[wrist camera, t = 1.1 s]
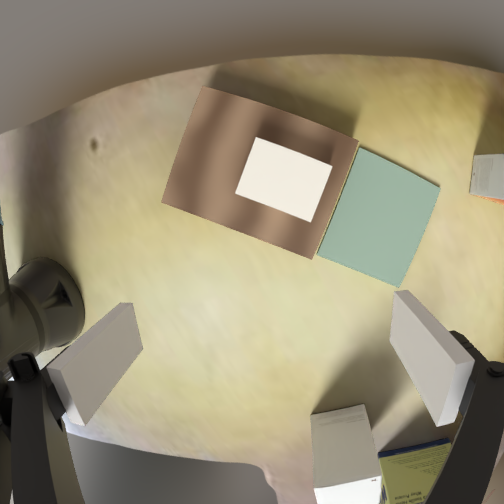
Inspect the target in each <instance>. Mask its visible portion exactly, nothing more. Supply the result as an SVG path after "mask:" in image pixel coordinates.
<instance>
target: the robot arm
mask: <svg viewBox="0 0 504 504" xmlns="http://www.w3.org/2000/svg"><path fill="white" fill-rule="evenodd" d="M84 319H85V314H84V306H83V301H82V298H81V295H80V292H79V290H78V288H77V286H76V284H75V282H74V281H73V279H72V278H71V276H70V275H69V274H68V272H67V271H66V270H65V269H64V268H63V267H62V266H61V265H59V264H58V263H57V262H55V261H53V260H51V259H48V258H43V257H41V258H36V259H33V260H31V261H28V262H26V263H25V264H23V265H22V266H21V267H20V268H19V270H18V271H17V273H16V274H14V275H13V276H12V277H11V278H10V279H8V273H7V266H6V259H5V250H4V239H3V221H2V216H1V207H0V504H10V499H11V493H12V490H13V500H14V504H85V502H84V499H83V496H82V493H81V490H80V486H79V483H78V479H77V476H76V472H75V468H74V464H73V460H72V456H71V452H70V448H69V443H68V439H67V433H66V428H65V423H64V421H63V419H62V415H63V414H64V413H65V412H66V413H67V415H68V417H69V419H70V421H71V423H75V424H79V425H82V426H86V424H87V423H88V422H89V420H90V419H91V418H92V416H93V415H94V414H95V412H96V411H97V409H98V408H99V407H100V405H101V404H102V403H103V401H104V400H105V399H106V397H107V396H108V395H109V393H110V392H111V391H112V389H113V388H114V387H115V385H116V384H117V383H118V381H119V380H120V379H121V377H122V376H123V375H124V373H125V372H126V371H127V369H128V368H129V367H130V365H131V364H132V363H133V361H134V360H135V359H136V358H137V356H138V355H139V354H140V352H141V351H142V350H143V346H142V342H141V338H140V334H139V329H138V325H137V321H136V316H135V312H134V307H133V303H119V304H118V305H117V306H116V307H115V308H113V309H112V310H111V311H110V312H109V313H108V314H106V315H105V316H104V317H103V318H102V319H100V320H99V321H98V322H97V323H96V324H95V325H93V326H92V327H91V328H90V329H89V330H88V331H87V332H85V333H84V334H83V335H82V336H81V337H80V338H78V339H77V340H76V341H75V342H74V343H73V344H72V345H70V346H68V347H66V348H65V349H64V350H63V351H62V352H60V354H58V355H57V356H56V357H55V359H53V360H51V361H50V362H49V363H48V364H47V365H46V366H45V367H44V368H43V369H41V370H40V369H39V367H38V364H37V361H36V359H35V357H36V356H37V355H38V354H40V353H41V352H43V351H46V350H50V349H52V348H55V347H62V346H66V345H68V344H69V343H71V342H72V341H73V340H74V339H75V338H77V337H78V336H79V334H80V333H81V331H82V329H83V326H84ZM389 341H390V343H391V345H392V346H393V348H394V350H395V352H396V353H397V355H398V357H399V358H400V360H401V362H402V364H403V365H404V367H405V369H406V371H407V373H408V374H409V376H410V378H411V380H412V381H413V383H414V385H415V387H416V389H417V391H418V392H419V394H420V396H421V398H422V400H423V402H424V404H425V405H426V407H427V409H428V411H429V413H430V415H431V417H432V419H433V421H434V423H435V425H436V426H437V427H438V426H442V425H446V424H449V423H453V422H454V421H455V419H456V416H457V414H458V411H460V412H461V414H462V415H463V419H462V421H461V424H460V426H459V428H458V431H457V433H456V435H455V439H454V441H453V443H452V446H451V448H450V450H449V452H448V455H447V457H446V459H445V461H444V463H443V465H442V467H441V470H440V472H439V474H438V476H437V478H436V479H435V481H434V483H433V485H432V487H431V489H430V491H429V493H428V494H427V496H426V498H425V500H424V502H423V503H422V504H481V503H482V501H483V498H484V495H485V493H486V489H487V487H488V484H489V481H490V478H491V475H492V471H493V468H494V465H495V461H496V458H497V454H498V450H499V446H500V442H501V438H502V434H503V429H504V363H501V362H497V361H490V362H489V361H488V360H487V359H486V358H485V357H484V356H483V355H482V354H481V353H480V352H479V351H478V350H477V349H476V348H474V346H473V345H472V344H471V343H469V340H468V339H467V338H466V337H465V336H464V335H462V334H460V333H458V332H456V331H448V330H447V329H446V328H445V327H444V326H443V325H442V324H441V323H440V322H439V321H438V320H437V319H436V318H435V317H434V316H433V315H432V314H431V313H430V312H429V311H428V310H427V309H426V308H425V307H424V306H423V305H422V303H421V302H420V301H419V300H418V299H417V298H416V297H415V296H413V295H412V294H411V293H410V292H409V291H408V290H403V291H394V298H393V311H392V321H391V331H390V339H389ZM12 376H13V378H14V380H15V381H8V380H9V379H10V378H11V377H12Z"/></svg>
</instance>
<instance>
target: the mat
mask: <svg viewBox="0 0 504 504" xmlns="http://www.w3.org/2000/svg"><path fill="white" fill-rule="evenodd" d="M439 192H440V188H439V187H437V186H435V185H433V184H432V183H430V182H428V181H426V180H424V179H422V178H421V177H419V176H417V175H415V174H413V173H411V172H409V171H407V170H405V169H403V168H402V167H400V166H398V165H396V164H394V163H392V162H390V161H388V160H385V159H383V158H381V157H379V156H377V155H375V154H373V153H371V152H369V151H366V150H364V149H362V148H360V147H359V149H358V151H357V154H356V157H355V159H354V162H353V165H352V167H351V170H350V173H349V175H348V178H347V181H346V183H345V186H344V188H343V191H342V193H341V196H340V199H339V201H338V204H337V206H336V209H335V211H334V214H333V216H332V219H331V221H330V223H329V226H328V228H327V231H326V233H325V236H324V238H323V240H322V243H321V245H320V248H319V250H318V252H317V255H318V256H321V257H324V258H326V259H329V260H331V261H334V262H336V263H339V264H341V265H344V266H346V267H349V268H351V269H354V270H356V271H359V272H361V273H364V274H366V275H369V276H371V277H374V278H376V279H378V280H381V281H383V282H386V283H388V284H391V285H393V286H396V287H398V288H399V287H400V285H401V283H402V281H403V279H404V277H405V275H406V272H407V270H408V268H409V266H410V264H411V262H412V259H413V257H414V255H415V253H416V250H417V248H418V246H419V243H420V241H421V239H422V236H423V234H424V231H425V229H426V226H427V224H428V221H429V219H430V216H431V214H432V211H433V208H434V206H435V203H436V200H437V198H438V195H439Z"/></svg>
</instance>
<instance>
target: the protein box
mask: <svg viewBox="0 0 504 504" xmlns="http://www.w3.org/2000/svg"><path fill="white" fill-rule="evenodd" d="M451 446H452V444H451V442H450V440H449V438H446V439H442V440H438V441H434V442H430V443H426V444H421V445H417V446H412V447H407V448H402V449H397V450H391V451H385V452H379V453H378V459H379V463H380V467H381V472H382V484H381V497H380V503H379V504H422V503H423V502H424V500H425V498H426V496H427V494H428V493H429V491H430V489H431V487H432V485H433V483H434V481H435V479H436V478H437V476H438V474H439V472H440V470H441V467H442V465H443V463H444V461H445V459H446V457H447V455H448V452H449V450H450V448H451Z"/></svg>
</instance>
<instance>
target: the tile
mask: <svg viewBox="0 0 504 504" xmlns="http://www.w3.org/2000/svg"><path fill="white" fill-rule="evenodd" d="M332 167H333V166H331V165H328V164H326V163H323V162H321V161H318V160H316V159H314V158H311V157H308V156H306V155H303V154H301V153H298V152H296V151H293V150H290V149H288V148H285V147H282V146H280V145H277V144H274V143H271V142H269V141H266V140H263V139H260V138H257V137H256V138H255V141H254V144H253V146H252V149H251V152H250V154H249V157H248V160H247V162H246V165H245V168H244V170H243V173H242V176H241V179H240V181H239V184H238V187H237V190H236V192H235V194H238V195H241V196H243V197H246V198H249V199H251V200H254V201H257V202H259V203H262V204H265V205H267V206H270V207H273V208H275V209H278V210H280V211H283V212H286V213H288V214H291V215H293V216H296V217H298V218H301V219H303V220H306V221H308V222H311V220H312V218H313V215H314V213H315V210H316V208H317V205H318V203H319V200H320V198H321V195H322V193H323V190H324V188H325V185H326V182H327V180H328V177H329V175H330V172H331V169H332Z"/></svg>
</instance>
